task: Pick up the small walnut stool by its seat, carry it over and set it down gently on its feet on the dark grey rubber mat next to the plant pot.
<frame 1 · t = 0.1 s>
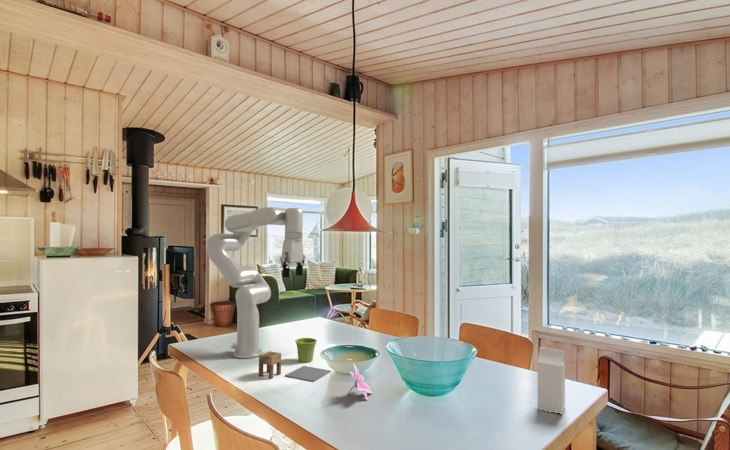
hand: (292, 276, 173), 37 cm above the table, tool pointing down, fingers open, 9 cm apart
lily: (359, 397, 136), on the table
milk carton: (551, 409, 129), on the table
stool: (269, 375, 156), on the table
mat: (308, 373, 158), on the table
plant pot: (305, 361, 175), on the table
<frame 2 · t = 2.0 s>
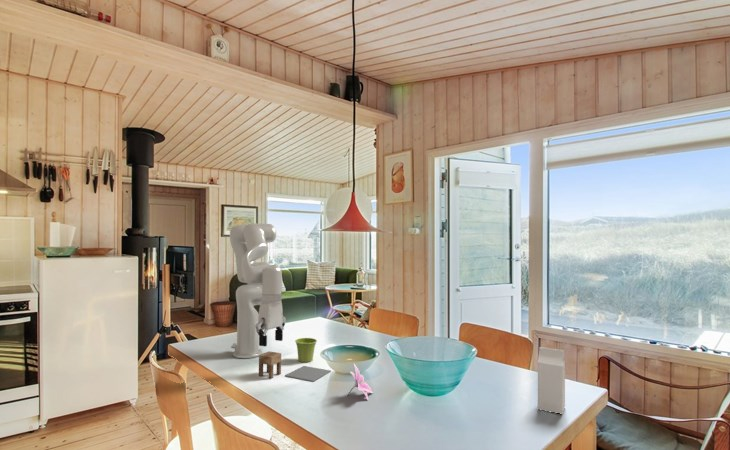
hand: (271, 343, 156), 12 cm above the table, tool pointing down, fingers open, 9 cm apart
nothing on the table moved.
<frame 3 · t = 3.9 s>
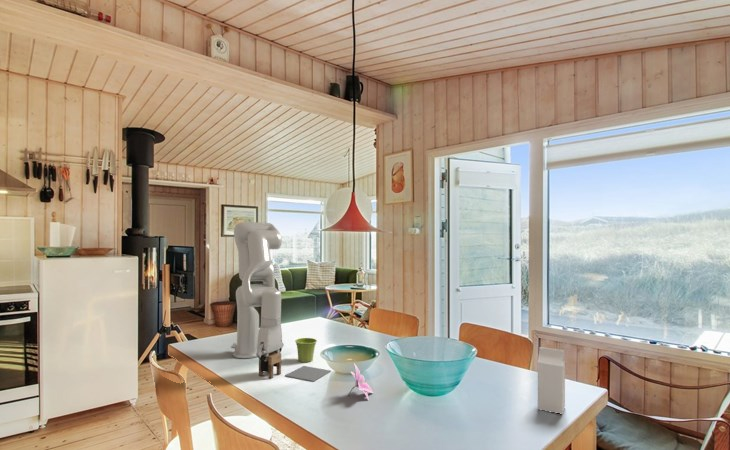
hand: (269, 368, 156), 3 cm above the table, tool pointing down, fingers closed on stool, 6 cm apart
stool: (269, 375, 156), on the table, touching gripper
everything else where it was.
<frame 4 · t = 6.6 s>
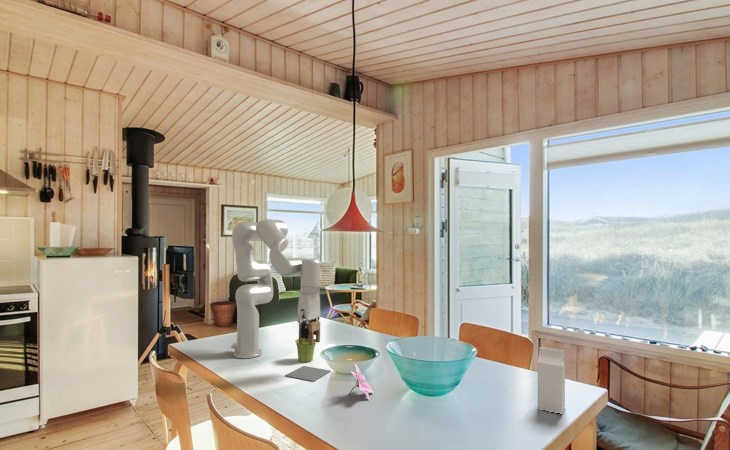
hand: (309, 335, 158), 15 cm above the table, tool pointing down, fingers closed on stool, 6 cm apart
stool: (309, 342, 158), point 12 cm above the table, touching gripper
everything else where it was.
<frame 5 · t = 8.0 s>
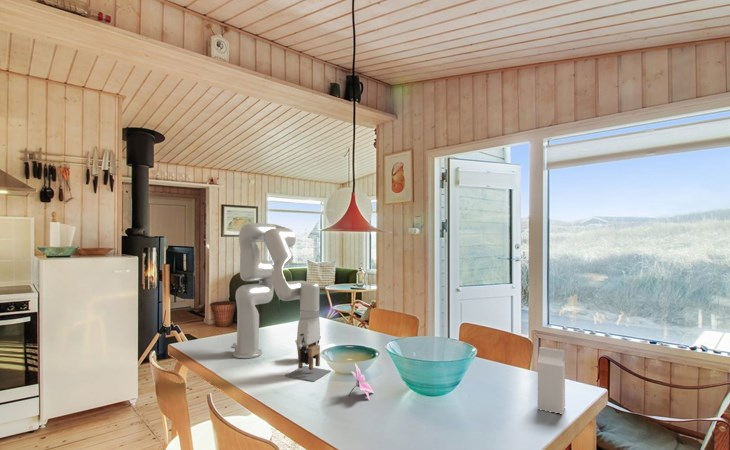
hand: (309, 360, 158), 5 cm above the table, tool pointing down, fingers closed on stool, 6 cm apart
stool: (309, 366, 158), point 3 cm above the table, touching gripper
everything else where it was.
when the fingers open (3 cm above the table, at t = 9.3 s): stool stays where it is, resting on mat.
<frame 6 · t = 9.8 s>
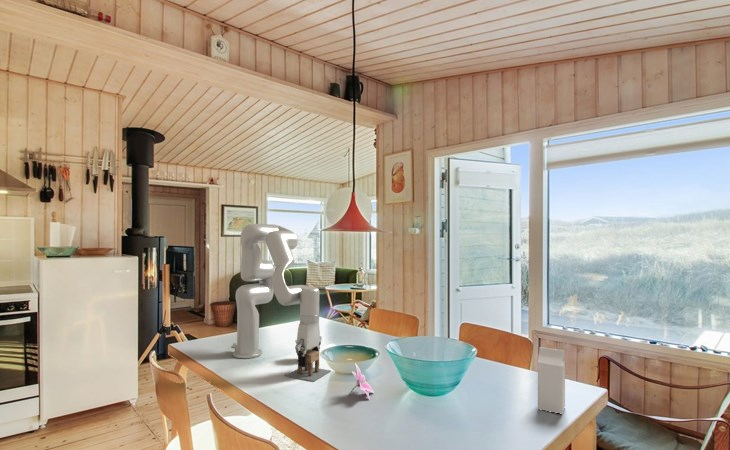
hand: (308, 362, 158), 4 cm above the table, tool pointing down, fingers open, 9 cm apart
stool: (308, 372, 158), resting on mat
everything else where it was.
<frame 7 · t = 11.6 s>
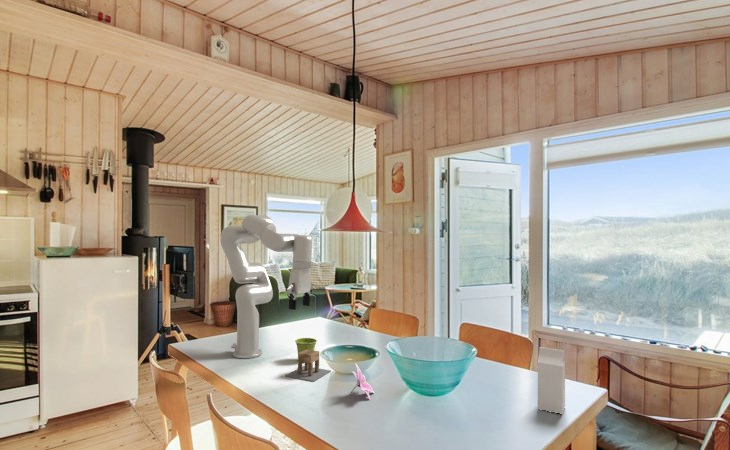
hand: (299, 307, 165), 25 cm above the table, tool pointing down, fingers open, 9 cm apart
nothing on the table moved.
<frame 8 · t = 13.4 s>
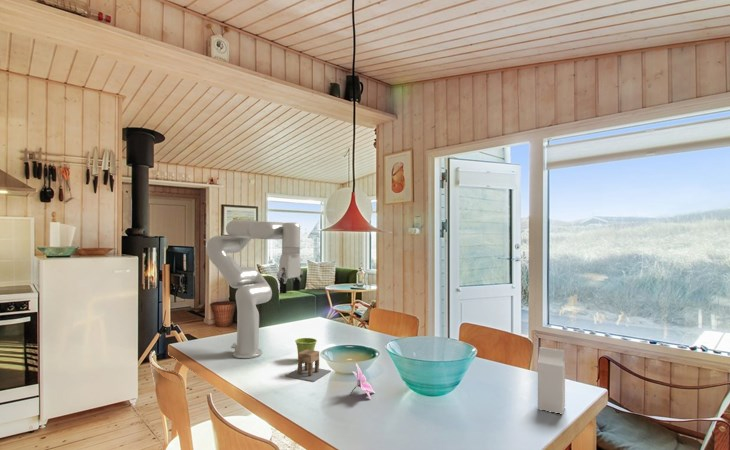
hand: (290, 291, 171), 30 cm above the table, tool pointing down, fingers open, 9 cm apart
at the end: stool inside the target area on the mat (0.0 cm from its centre), point 0.4 cm above the mat's base; stool tilted 0°; the gripper is holding nothing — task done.
